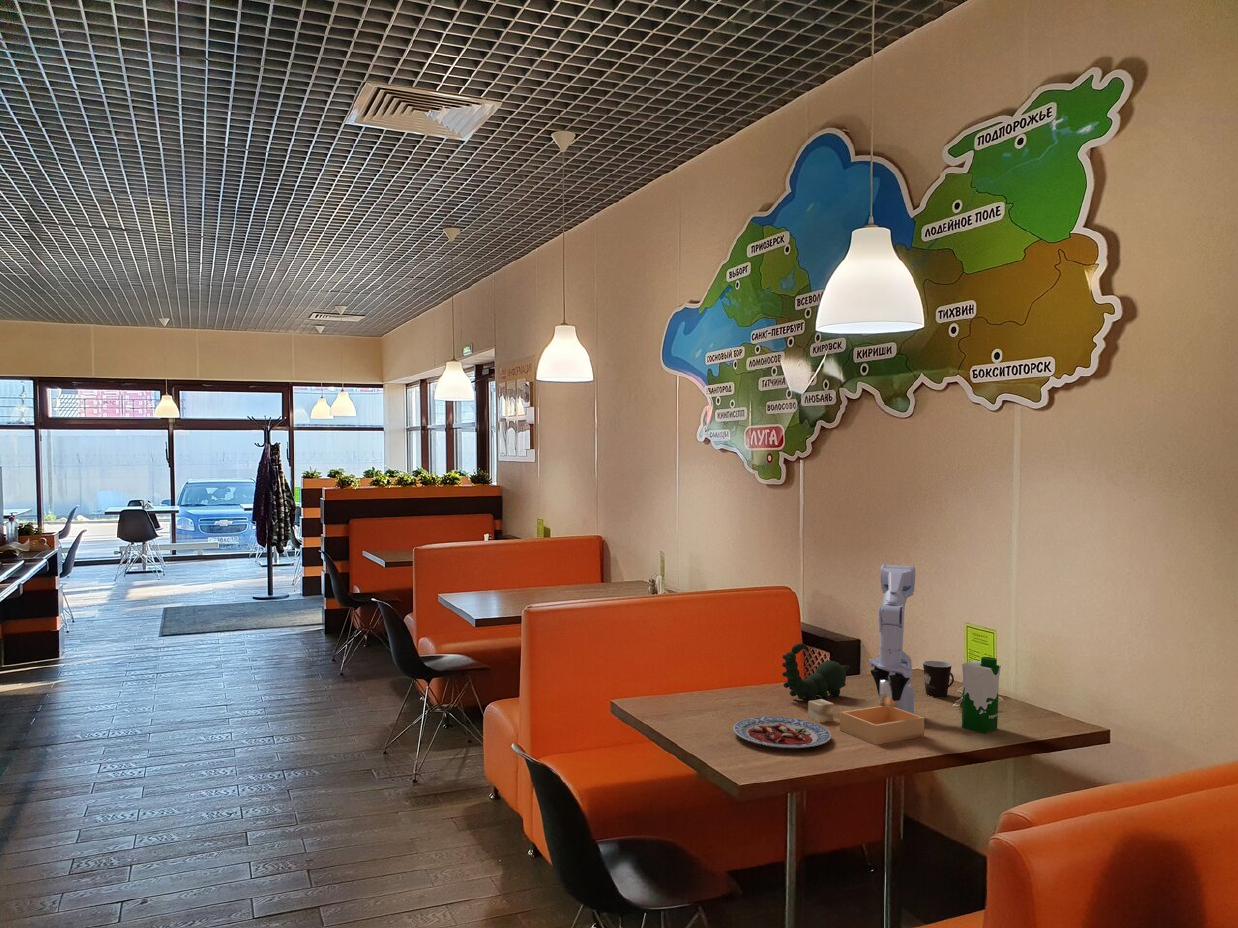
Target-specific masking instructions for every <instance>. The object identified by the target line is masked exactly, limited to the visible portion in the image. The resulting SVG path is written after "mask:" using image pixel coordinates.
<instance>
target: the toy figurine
mask: <svg viewBox="0 0 1238 928" xmlns="http://www.w3.org/2000/svg"><path fill="white" fill-rule="evenodd" d="M802 650H805V651H808V650H809V648H808V647H807V645H806V644H804V643H801V642H799V643H795V644H794V645H793V646H792V647H791V651H787V652H786V653H785V654H783V655H782V659H783V660H785V662H782V664H781V665H782V667H783V668H785V669H786V670H785V671H783V672H782V676H783V677H784V678H786V679H787V680H786V681H785V682H784V683H783V687H784V688H785V689H787V688H788V689H789V690H790V691H789V696H791V697H796V696H797V699H798V700H804V699H807V700H809V701H813V700H817V697H816V696H819V697H820V699H823V700H825V699H827V698H828V696H829V695H830V696H831V697H838V696H839V695H840V694H841V689H842V688H844V687H845V686H846V680H847V674H846V672H847V671H848V670H849V669H850V667H851V666H850V665H841V664H840V663H839V662H837V661H834V660H826V661H823V662H822V663H819V665H818V666H817V667H816V670H815V672H814V673H811V674H810V675H809V676H808V677H806V678H802V676H801V674H800V670H799V669H798V667H799V664H798V662H797V656H796V655H797V654H799V653H800V652H801V651H802Z"/></svg>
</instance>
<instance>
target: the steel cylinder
mask: <svg viewBox="0 0 1238 928" xmlns="http://www.w3.org/2000/svg"><path fill="white" fill-rule="evenodd" d="M878 706H882V707H887V708H895V707H898V701H893V697H892V684H891V680H890V678H880V685H879V695H878Z"/></svg>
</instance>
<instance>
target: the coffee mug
mask: <svg viewBox="0 0 1238 928" xmlns="http://www.w3.org/2000/svg"><path fill="white" fill-rule="evenodd" d="M922 665H923V666H922V667H923V677H924V688H925V695H926V694H927V695H926V696H928V695H929V696H928V697H930V696H933V697H932V698H936V697H945V698H947V697H948V691H949V688H951V686H952V685H953V684H954V682H955V679H954V678H955V677H954V675H953V673H952V664H951V663H949V662H946V661H940V660H924V661H922ZM950 677H951V678H950ZM950 679H951V682H950ZM946 696H947V697H946Z"/></svg>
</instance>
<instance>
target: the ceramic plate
mask: <svg viewBox="0 0 1238 928" xmlns="http://www.w3.org/2000/svg"><path fill="white" fill-rule="evenodd" d="M732 729H733V732H734V734H735V735H736V736H738V737H739V738H741V739H743V740H744V741H745V740H746V741H748V742H751V743H755V744H758V745H761V744H762V746H765V747H769V748H775V749H787V750H788V749H793V750H794V749H802V748H804V749H805V748H810V747H816V746H821V745H823V744H826V743H828V742H829V741H831V738H832V733H831V731H830V730H828V729H827V728H826V727H824V726H822V725H820V724H817V723H815V722H812V721H808V720H804V719H799V718H792V717H784V716H757V717H749V718H745V719H742V720H739V721H737V722H735V724H733V727H732Z"/></svg>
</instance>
